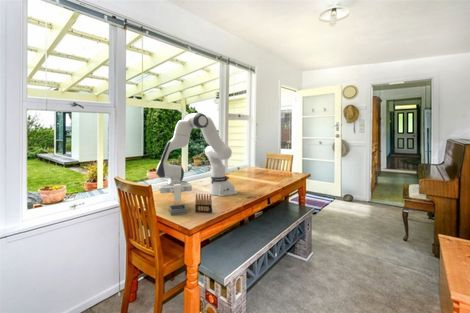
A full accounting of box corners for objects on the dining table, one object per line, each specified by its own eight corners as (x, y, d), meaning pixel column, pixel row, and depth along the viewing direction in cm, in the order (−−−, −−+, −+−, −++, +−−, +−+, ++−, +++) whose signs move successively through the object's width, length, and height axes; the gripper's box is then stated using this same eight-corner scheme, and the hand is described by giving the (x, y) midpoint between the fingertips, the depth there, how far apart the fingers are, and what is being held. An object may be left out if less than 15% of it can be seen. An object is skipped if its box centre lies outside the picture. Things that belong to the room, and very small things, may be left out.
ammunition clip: (195, 212, 158) (194, 193, 156) (196, 211, 160) (195, 192, 158) (211, 213, 156) (211, 194, 155) (212, 212, 158) (212, 193, 156)
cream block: (180, 199, 160) (179, 183, 159) (181, 200, 156) (180, 185, 155) (173, 199, 159) (173, 184, 158) (174, 201, 155) (174, 185, 154)
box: (184, 208, 165) (184, 204, 165) (187, 213, 156) (187, 208, 155) (169, 210, 162) (169, 205, 161) (170, 215, 152) (170, 210, 152)
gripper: (158, 183, 165) (159, 187, 152) (189, 181, 172) (193, 185, 159) (158, 192, 166) (160, 197, 153) (189, 190, 173) (193, 194, 160)
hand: (177, 191), depth 156 cm, fingers closed on cream block, 4 cm apart
